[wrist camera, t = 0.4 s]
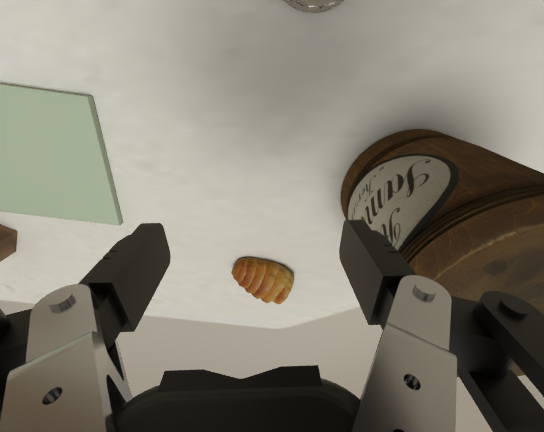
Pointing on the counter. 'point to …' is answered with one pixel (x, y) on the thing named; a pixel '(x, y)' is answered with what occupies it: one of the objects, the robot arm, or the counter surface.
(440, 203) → the wooden container
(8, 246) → the walnut block
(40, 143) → the green board
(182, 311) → the counter surface
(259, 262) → the pastry
